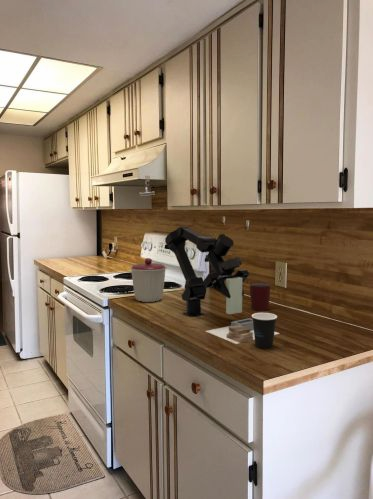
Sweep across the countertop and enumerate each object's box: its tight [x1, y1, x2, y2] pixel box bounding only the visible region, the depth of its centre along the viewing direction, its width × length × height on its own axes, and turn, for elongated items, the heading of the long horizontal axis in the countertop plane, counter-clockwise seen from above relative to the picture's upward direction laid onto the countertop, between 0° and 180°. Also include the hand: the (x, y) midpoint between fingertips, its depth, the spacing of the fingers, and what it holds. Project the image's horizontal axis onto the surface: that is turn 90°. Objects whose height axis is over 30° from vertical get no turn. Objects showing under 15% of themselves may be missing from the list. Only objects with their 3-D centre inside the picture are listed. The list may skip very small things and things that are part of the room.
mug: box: [249, 282, 271, 312], centre depth 184 cm, size 12×9×11 cm
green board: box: [225, 277, 243, 315], centre depth 151 cm, size 2×6×13 cm, turn 123°
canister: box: [129, 257, 167, 303], centre depth 201 cm, size 18×18×21 cm
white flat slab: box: [205, 317, 280, 345], centre depth 144 cm, size 17×20×4 cm
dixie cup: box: [251, 312, 278, 350], centre depth 129 cm, size 8×8×11 cm
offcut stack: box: [227, 325, 254, 344], centre depth 136 cm, size 7×6×4 cm
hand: (236, 296), depth 150 cm, fingers closed on green board, 6 cm apart
